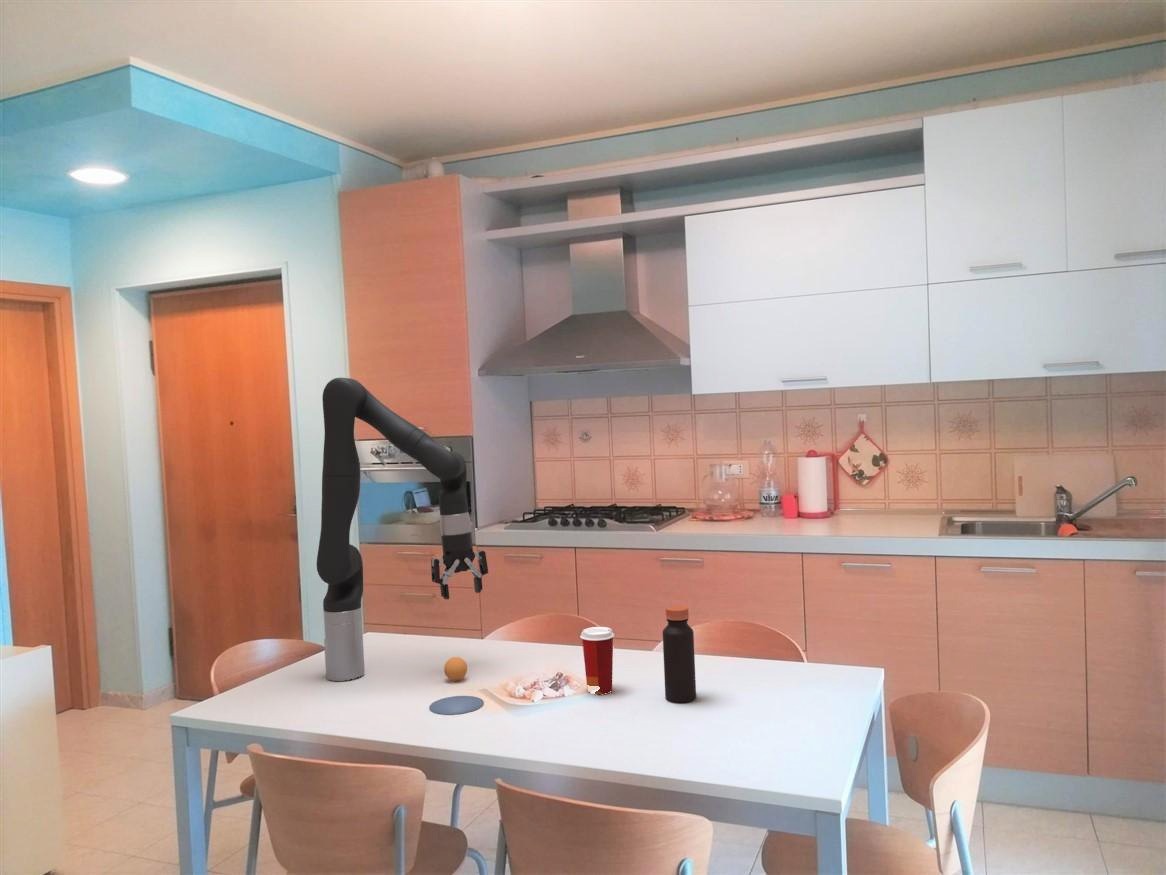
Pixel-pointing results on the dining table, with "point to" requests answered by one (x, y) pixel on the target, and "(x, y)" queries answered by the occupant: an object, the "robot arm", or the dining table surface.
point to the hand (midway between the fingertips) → (462, 595)
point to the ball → (455, 668)
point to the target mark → (456, 705)
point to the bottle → (679, 656)
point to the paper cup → (598, 657)
